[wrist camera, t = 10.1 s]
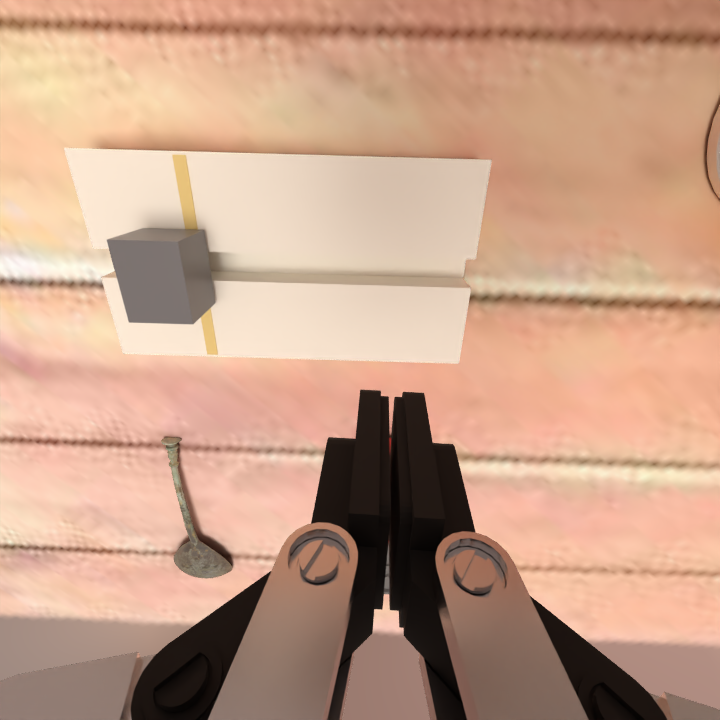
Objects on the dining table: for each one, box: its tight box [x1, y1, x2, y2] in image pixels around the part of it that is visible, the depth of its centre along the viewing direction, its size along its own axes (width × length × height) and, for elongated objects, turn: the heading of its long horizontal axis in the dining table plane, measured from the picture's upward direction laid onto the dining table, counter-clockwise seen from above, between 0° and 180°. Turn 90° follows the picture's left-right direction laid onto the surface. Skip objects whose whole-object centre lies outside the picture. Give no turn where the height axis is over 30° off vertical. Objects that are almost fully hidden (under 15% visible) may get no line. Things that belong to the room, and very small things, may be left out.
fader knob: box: [107, 228, 216, 324], centre depth 26 cm, size 4×5×6 cm
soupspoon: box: [161, 437, 232, 578], centre depth 43 cm, size 22×3×7 cm
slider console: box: [64, 148, 492, 364], centre depth 28 cm, size 26×14×4 cm, turn 89°
